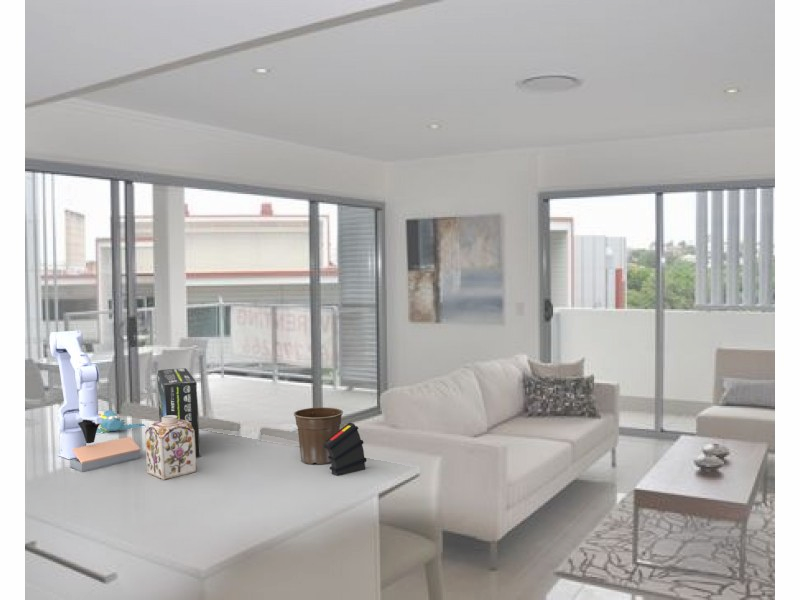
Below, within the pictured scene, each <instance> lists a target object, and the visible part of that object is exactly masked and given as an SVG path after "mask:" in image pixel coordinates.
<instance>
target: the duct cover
mask: <svg viewBox="0 0 800 600" xmlns="http://www.w3.org/2000/svg"><path fill="white" fill-rule="evenodd" d="M72 451H73V452H74V454H75V455H76V457H77V458H78V459H79V461H80V462H81V464H84V463H88V462H92V461H97V460H101V459H105V458H110V457H114V456H119V455H123V454H127V453H132V452H136V451H141V448H140V446H139V445H138V444H137V443H136V442H135V441H134V439H133V437H131V436H125V437H121V438H117V439H116V438H115V439H112V440H107V441H103V442H98V443H94V444H93V443H92V444H89V445H86V446H83V447H78V448H74V449H73V450H72ZM77 458H76V459H77Z"/></svg>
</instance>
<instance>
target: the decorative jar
mask: <svg viewBox="0 0 800 600" xmlns="http://www.w3.org/2000/svg"><path fill="white" fill-rule="evenodd" d="M144 433H145V434H144V438H145V439H144V440H145V441H144V443H145V461H146V462H145V463H146V464H145V465H146V472H147V474H148V473H149V475H150V476H151V475H152V476H154V477H156V478H158V479H160V478H161V479H160V480H163V481H164V480H168V479H172V478H176V477H181V476H186V475H189V474H193V473H196V472H197V457H196V447H195V431H194V429H193V427H192V425H191V424H190V422H189V421H186V420H178V419H177V416H175V415H168V416H164V417H162V421H160V420H159V421H158V422H157V421H156V422H153V423H151V424H150V425H149V426H148V427H147V429H146V430H145V431H144Z"/></svg>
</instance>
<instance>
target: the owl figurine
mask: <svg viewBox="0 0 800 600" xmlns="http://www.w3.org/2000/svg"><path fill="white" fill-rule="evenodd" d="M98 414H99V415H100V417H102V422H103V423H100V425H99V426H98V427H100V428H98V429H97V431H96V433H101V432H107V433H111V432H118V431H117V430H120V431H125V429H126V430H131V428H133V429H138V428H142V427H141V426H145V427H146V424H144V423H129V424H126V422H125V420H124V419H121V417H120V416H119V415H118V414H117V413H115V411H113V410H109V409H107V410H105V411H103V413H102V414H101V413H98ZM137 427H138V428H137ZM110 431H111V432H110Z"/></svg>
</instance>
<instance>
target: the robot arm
mask: <svg viewBox="0 0 800 600" xmlns="http://www.w3.org/2000/svg"><path fill="white" fill-rule="evenodd" d="M83 338H84V337H83V333H82V331H81V330H80V329H77V330H67V331H65V330H64V331H52V332H50V335H49V349H50V354H51V357H53V358H55V359H56V360H57V363H58V367H59V376H60V383H61V390H62V395H63V404H62V406H60V407H59V408H58V409H57V412H56V424H57V429H58V430H59V431H60V432H61V433H60V434H59V453H57V454H56V455H57V456H59V457H61V458H64V459H67V460H73V459H77V457H76V455H75V454H74V452H73V451H72V450H73V449H74V448H78V447H83V446H87V444H89V445H90V444H93V443H95V439H96V435H97V434H96V431H97V429H99V427H100V426H99V425H100V423H103V422H102V417H100V415H99V414H100V413H99V400H98V382H99V380H100V371H99V370H100V369H99V367H98V365H97V364H95V363H93V362H92V361H91V359H90V358H89V355H88V354H87V353H86V352H84V351H83V350H82V347H83V343H84V339H83Z"/></svg>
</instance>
